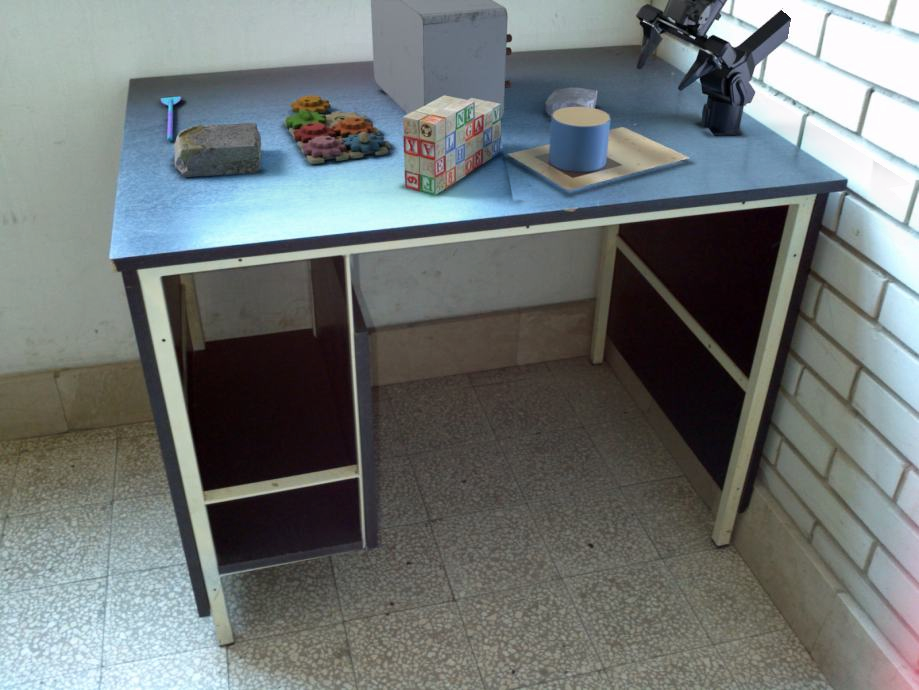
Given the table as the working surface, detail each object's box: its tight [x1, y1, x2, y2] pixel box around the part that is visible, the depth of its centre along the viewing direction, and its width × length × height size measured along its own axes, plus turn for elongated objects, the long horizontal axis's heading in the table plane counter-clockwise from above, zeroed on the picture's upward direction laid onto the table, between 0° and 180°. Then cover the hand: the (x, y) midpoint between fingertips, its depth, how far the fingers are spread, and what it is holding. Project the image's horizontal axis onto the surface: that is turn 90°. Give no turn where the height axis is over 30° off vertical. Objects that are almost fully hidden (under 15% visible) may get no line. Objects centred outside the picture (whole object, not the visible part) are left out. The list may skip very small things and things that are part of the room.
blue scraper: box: [160, 96, 182, 142], centre depth 173 cm, size 25×4×1 cm, turn 11°
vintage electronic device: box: [370, 0, 513, 120], centre depth 174 cm, size 32×18×25 cm, turn 22°
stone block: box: [544, 87, 598, 117], centre depth 178 cm, size 12×5×10 cm
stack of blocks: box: [402, 95, 502, 196], centre depth 150 cm, size 21×6×12 cm, turn 148°
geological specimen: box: [173, 122, 262, 178], centre depth 154 cm, size 11×6×15 cm
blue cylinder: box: [549, 107, 612, 172], centre depth 153 cm, size 10×10×8 cm
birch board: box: [506, 126, 690, 191], centre depth 158 cm, size 27×18×1 cm, turn 122°
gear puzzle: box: [284, 94, 392, 165], centre depth 168 cm, size 31×16×4 cm, turn 21°
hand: (658, 79), depth 157 cm, fingers open, 9 cm apart
